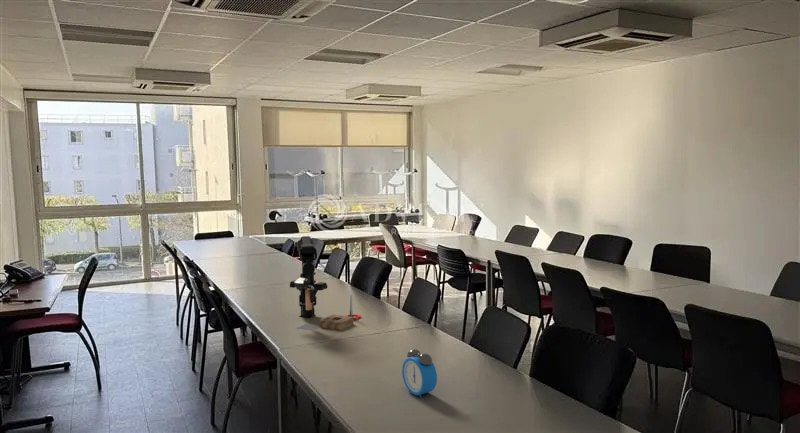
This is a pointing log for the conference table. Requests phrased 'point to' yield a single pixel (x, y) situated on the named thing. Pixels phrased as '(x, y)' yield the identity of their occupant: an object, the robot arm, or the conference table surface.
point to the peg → (308, 300)
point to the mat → (308, 327)
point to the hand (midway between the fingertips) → (308, 302)
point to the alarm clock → (419, 373)
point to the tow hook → (352, 311)
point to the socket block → (336, 322)
